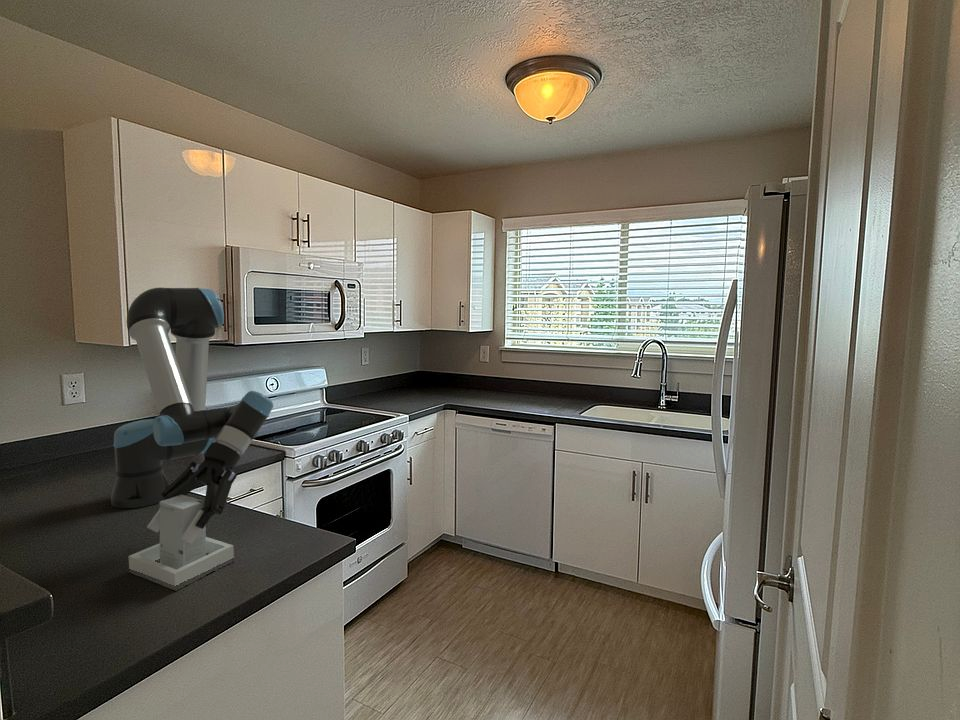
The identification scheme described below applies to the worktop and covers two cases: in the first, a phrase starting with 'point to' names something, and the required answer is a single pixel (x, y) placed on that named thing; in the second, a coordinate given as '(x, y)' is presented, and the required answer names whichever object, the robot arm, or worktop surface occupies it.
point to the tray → (216, 556)
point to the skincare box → (180, 531)
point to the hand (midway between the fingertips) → (168, 535)
